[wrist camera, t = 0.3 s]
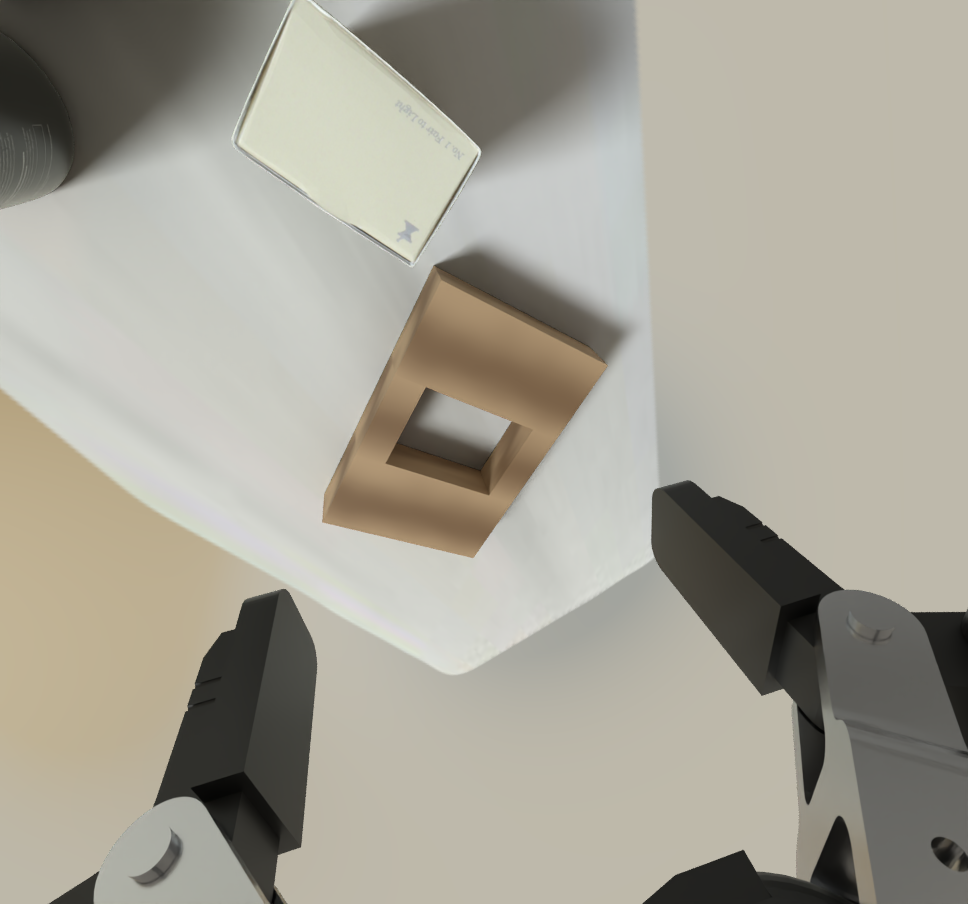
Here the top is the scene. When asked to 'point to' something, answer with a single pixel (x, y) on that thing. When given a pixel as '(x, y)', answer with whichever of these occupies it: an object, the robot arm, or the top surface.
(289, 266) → the top surface
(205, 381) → the top surface
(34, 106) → the supplement bottle
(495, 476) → the board
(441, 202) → the skincare box
